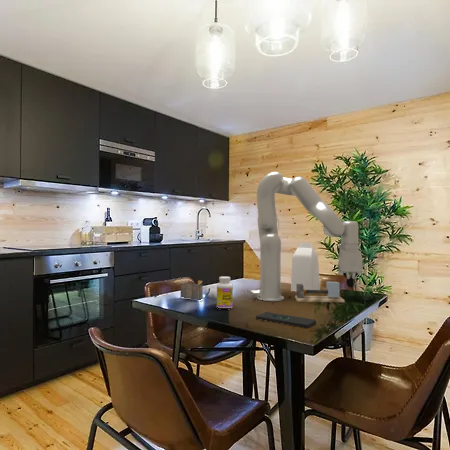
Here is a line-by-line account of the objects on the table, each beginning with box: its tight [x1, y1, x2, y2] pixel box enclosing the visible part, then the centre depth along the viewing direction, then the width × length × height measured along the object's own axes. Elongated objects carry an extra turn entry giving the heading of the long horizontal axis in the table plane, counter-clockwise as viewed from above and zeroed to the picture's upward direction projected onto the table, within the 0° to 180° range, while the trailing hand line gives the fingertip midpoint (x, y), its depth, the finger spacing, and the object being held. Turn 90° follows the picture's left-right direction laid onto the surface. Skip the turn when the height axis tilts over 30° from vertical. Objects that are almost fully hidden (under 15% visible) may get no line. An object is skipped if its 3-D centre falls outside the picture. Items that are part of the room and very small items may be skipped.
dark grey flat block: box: [255, 311, 317, 329], centre depth 120 cm, size 8×2×20 cm
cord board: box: [294, 284, 346, 303], centre depth 157 cm, size 21×9×7 cm, turn 85°
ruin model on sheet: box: [180, 280, 204, 300], centre depth 157 cm, size 11×3×10 cm, turn 54°
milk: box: [290, 242, 321, 295], centre depth 182 cm, size 12×12×26 cm
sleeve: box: [325, 281, 341, 297], centre depth 157 cm, size 5×4×6 cm
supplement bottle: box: [216, 276, 234, 309], centre depth 140 cm, size 7×7×13 cm
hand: (350, 287), depth 156 cm, fingers closed
